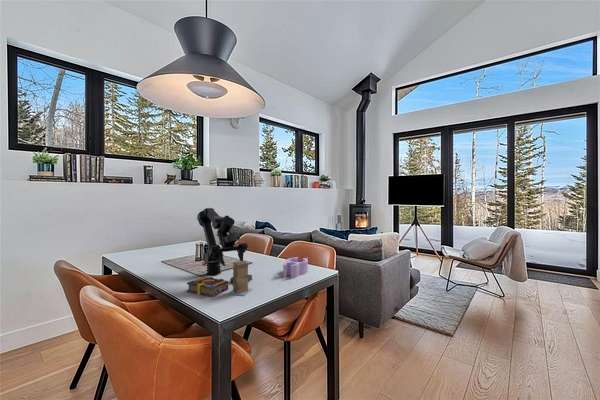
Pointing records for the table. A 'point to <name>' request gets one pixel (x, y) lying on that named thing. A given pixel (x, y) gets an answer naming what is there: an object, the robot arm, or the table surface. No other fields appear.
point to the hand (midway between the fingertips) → (233, 264)
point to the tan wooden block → (240, 276)
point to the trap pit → (248, 278)
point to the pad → (240, 293)
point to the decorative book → (207, 286)
